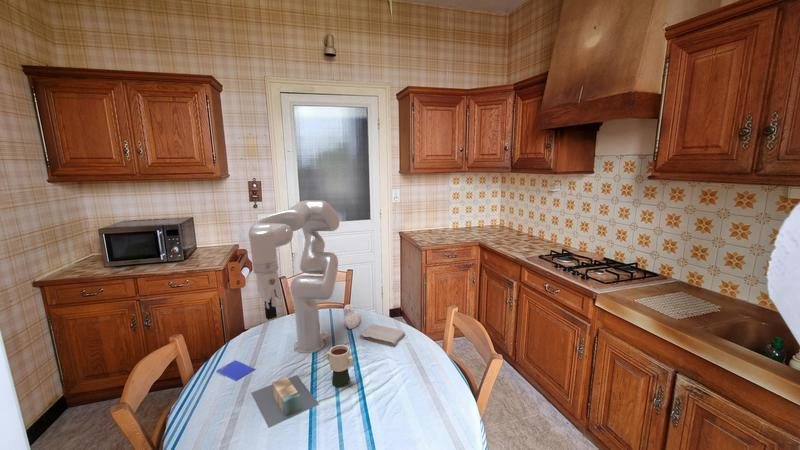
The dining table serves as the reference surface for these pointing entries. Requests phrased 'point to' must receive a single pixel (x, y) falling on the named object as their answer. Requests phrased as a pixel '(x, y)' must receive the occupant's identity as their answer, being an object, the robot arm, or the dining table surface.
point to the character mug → (340, 364)
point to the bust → (351, 316)
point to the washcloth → (382, 335)
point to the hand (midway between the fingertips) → (271, 317)
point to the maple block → (286, 396)
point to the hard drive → (235, 370)
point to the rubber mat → (273, 410)
